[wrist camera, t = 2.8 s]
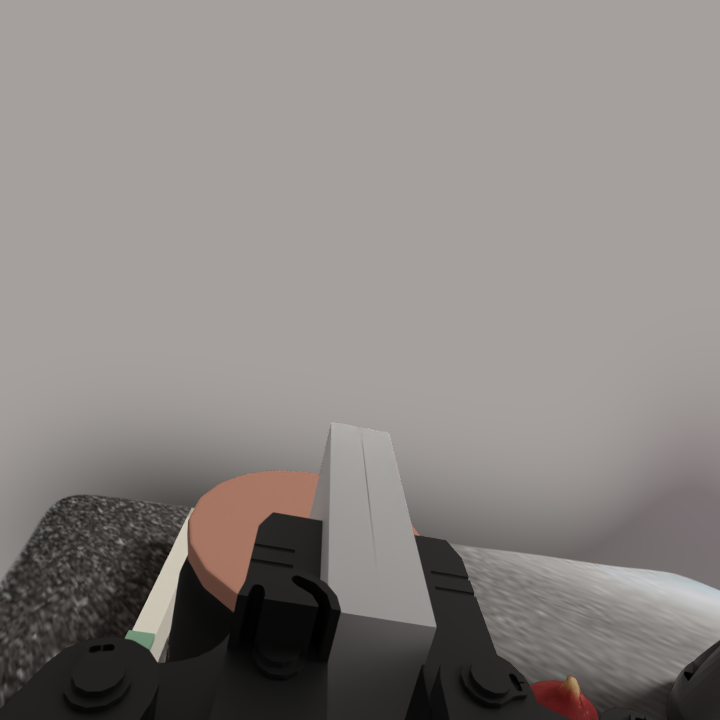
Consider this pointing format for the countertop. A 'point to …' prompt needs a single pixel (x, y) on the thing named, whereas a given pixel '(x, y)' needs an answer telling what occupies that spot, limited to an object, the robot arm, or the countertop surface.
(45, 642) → the countertop surface
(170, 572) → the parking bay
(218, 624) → the coffee jar
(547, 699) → the onion
